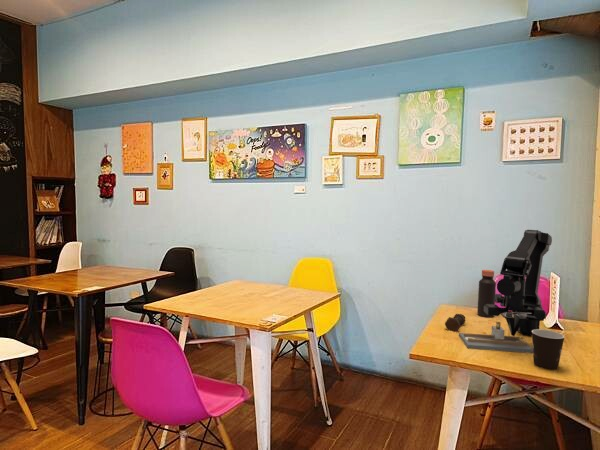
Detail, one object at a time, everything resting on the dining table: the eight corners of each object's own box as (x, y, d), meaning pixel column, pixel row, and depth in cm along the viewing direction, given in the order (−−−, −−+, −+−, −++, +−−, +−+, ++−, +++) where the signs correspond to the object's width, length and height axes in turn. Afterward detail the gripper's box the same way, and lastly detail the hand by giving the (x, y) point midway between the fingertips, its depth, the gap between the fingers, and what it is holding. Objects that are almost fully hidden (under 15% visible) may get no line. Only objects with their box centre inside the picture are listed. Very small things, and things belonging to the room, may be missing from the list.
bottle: (497, 317, 177) (500, 272, 176) (483, 317, 176) (486, 272, 175) (487, 313, 184) (489, 269, 183) (474, 313, 183) (476, 269, 181)
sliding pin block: (500, 338, 145) (500, 321, 145) (503, 342, 141) (504, 324, 141) (491, 338, 146) (492, 320, 145) (494, 341, 142) (495, 323, 141)
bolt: (463, 326, 169) (453, 335, 157) (452, 319, 172) (442, 326, 159) (471, 316, 167) (462, 323, 155) (460, 308, 170) (450, 315, 157)
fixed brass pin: (523, 341, 143) (523, 337, 143) (525, 343, 141) (525, 339, 141) (517, 341, 143) (518, 337, 143) (519, 343, 142) (520, 338, 141)
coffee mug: (553, 373, 120) (555, 340, 119) (524, 363, 127) (525, 331, 126) (572, 365, 126) (574, 334, 125) (543, 356, 133) (545, 326, 132)
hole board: (519, 340, 149) (520, 334, 148) (534, 353, 136) (535, 346, 136) (458, 335, 152) (459, 329, 152) (467, 348, 139) (468, 341, 139)
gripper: (534, 288, 148) (531, 330, 149) (480, 285, 151) (478, 326, 152) (548, 295, 137) (545, 340, 138) (489, 291, 140) (487, 336, 141)
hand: (512, 335), depth 143 cm, fingers closed
